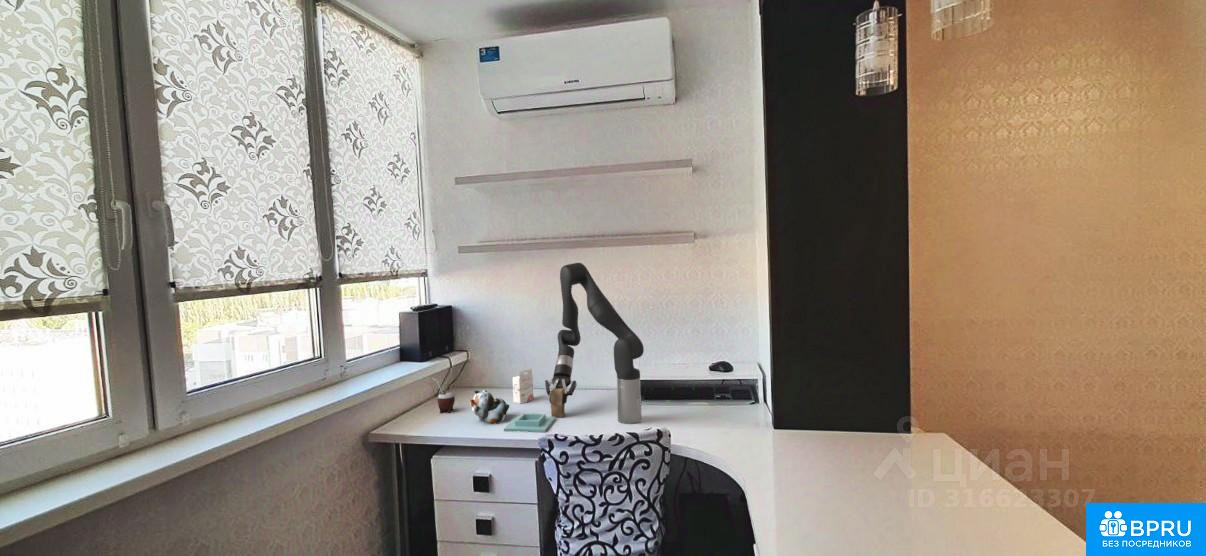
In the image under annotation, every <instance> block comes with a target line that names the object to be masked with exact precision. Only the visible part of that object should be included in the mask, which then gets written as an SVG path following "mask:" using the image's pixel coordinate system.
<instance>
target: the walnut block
mask: <svg viewBox="0 0 1206 556" xmlns="http://www.w3.org/2000/svg"><path fill="white" fill-rule="evenodd" d="M550 391H551V403H550V408H551V409H550V410H551V411H550V412H551V413H550V414H551V415H550V417H556V419H563V418H564V417H565V414H566V413H565V408H566V407H565V406H566V405H565V404H563V403H562V400H563V394H564V389H563V388H553V389H552V388H551V390H550Z"/></svg>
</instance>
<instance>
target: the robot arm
mask: <svg viewBox="0 0 1206 556" xmlns="http://www.w3.org/2000/svg"><path fill="white" fill-rule="evenodd" d="M559 278H560V279H559V281H560V290H561V291H560V292H561V299H562V322H561V323H562V326H563V327H564V328H566V329H561V330H559V331H558V333H557V341H558V342H557V343H558V354H557V359H556V362H555V365H554V366H555V367H554V372H553V376H552V378H551V380H548V379H546V380H545V381H544V384H545V391H546V394H547V396H549V398H548V402H549V403H550V404H551V390H552V389H553V388H563V389H564V394H563V400H562V403H563V404H564V405H565V404H567V400H568V396H573V395H574V392H575V390H576V387H577V381H576V380H572V373H573V372H572V371H573V367H574V356H575V349H574V348H573V347H577V346H578V345H579V344H580V343H581V333H580V331H579V323H578V322H579V308H578V304H577V302H576V301H575V299H574V297H573V293H572V291H573V290H572V288H573V286H575V285H578V284H580V285H581V286H582V288H583V290H584V291H585V293H586V306H587V310H588V312H589V314H590V315H591V316H592V317H593V318H594V320H595V322H597V323H598V324H599V325H600V326H601V327H603V328H604V329H606V330H607V331H609V332H610V333H612V334H613V335H614V336H615V338H617V340H616V341H615V342H614V345H613V362H614V369H615V373H616V391H617V392H616V393H617V395H616V396H617V397H616V398H617V421H618V422H619V423H622V424H627V425H628V424H629V425H630V424H631V425H632V424H637V423H639V424H640V423H641V422H642V416H643V415H642V394H641V371H640V369H639V368H635V367H634V360H636V359H639V358H641V357H642V356H643V354H644V344H643V342H642V340H641V339H640V337H639V336H638V335H637V334H636V333H635V332H634V331H633V330H632V328H630V326H629V325H627V323H626V322H625V321H624V320H623V318H622V317H621V316H620V314H619V313H618V312H617V309H615V308H614V306H613V305H612V304H611V302H610V301H609V300H608V298H607V297H606V295H605V294H604V293H603V292H602V291H601V289H600V287H599V286H598V285H597V283H596V282H595V279H594V278H593V277H592V275H591V273H590V272H589V270H588V268H587V267H586V265H584V264H583V263H582V262H574V263H568V264H565V265H563V266H562V267H561V268H560V271H559ZM551 385H552V387H551ZM569 386H570V387H569ZM550 387H551V390H550ZM568 387H569V389H568Z"/></svg>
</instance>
